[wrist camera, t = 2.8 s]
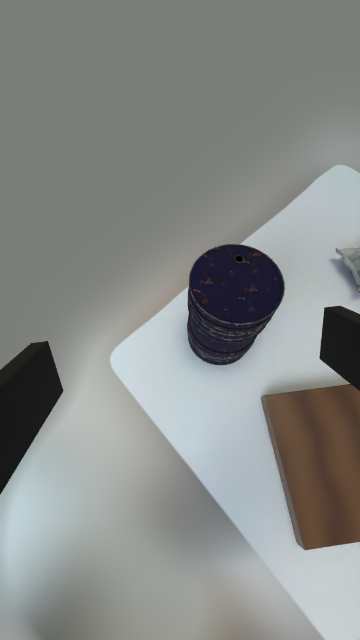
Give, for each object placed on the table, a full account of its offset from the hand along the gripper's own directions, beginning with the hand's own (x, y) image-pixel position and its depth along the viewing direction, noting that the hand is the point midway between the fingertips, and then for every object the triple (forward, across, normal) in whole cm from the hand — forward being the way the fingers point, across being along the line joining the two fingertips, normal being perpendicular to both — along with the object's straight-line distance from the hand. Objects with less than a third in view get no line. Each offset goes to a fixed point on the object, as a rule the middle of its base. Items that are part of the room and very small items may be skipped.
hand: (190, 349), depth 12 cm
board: (+12, +20, -24) cm, 33 cm away
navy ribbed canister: (+25, +6, -11) cm, 28 cm away
